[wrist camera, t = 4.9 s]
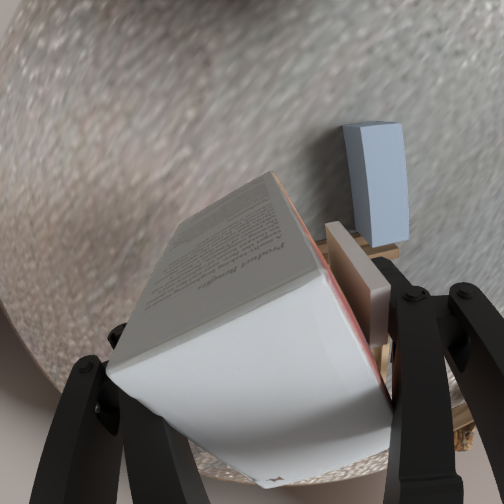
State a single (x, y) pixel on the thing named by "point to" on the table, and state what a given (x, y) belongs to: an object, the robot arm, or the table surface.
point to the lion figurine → (463, 440)
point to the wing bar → (378, 181)
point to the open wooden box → (463, 419)
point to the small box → (254, 345)
